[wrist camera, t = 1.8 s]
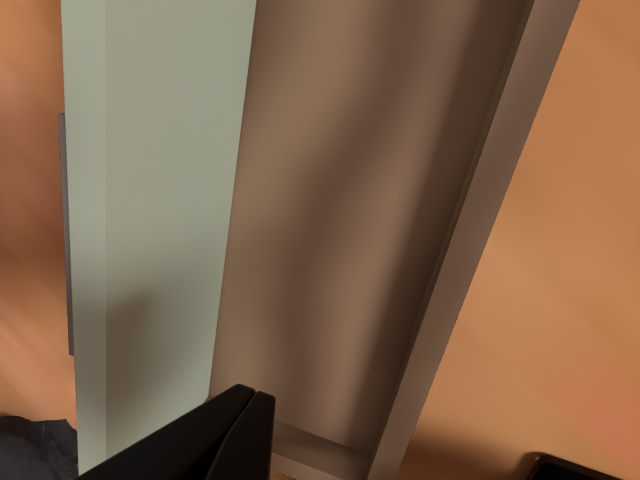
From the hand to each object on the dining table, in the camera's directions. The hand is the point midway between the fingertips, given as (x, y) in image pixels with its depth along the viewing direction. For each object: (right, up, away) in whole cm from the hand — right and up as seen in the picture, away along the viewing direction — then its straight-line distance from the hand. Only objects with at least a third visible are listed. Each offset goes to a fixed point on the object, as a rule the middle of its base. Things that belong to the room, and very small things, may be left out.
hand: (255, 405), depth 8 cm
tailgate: (-4, +5, +11) cm, 13 cm away
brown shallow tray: (+2, +4, +11) cm, 12 cm away
